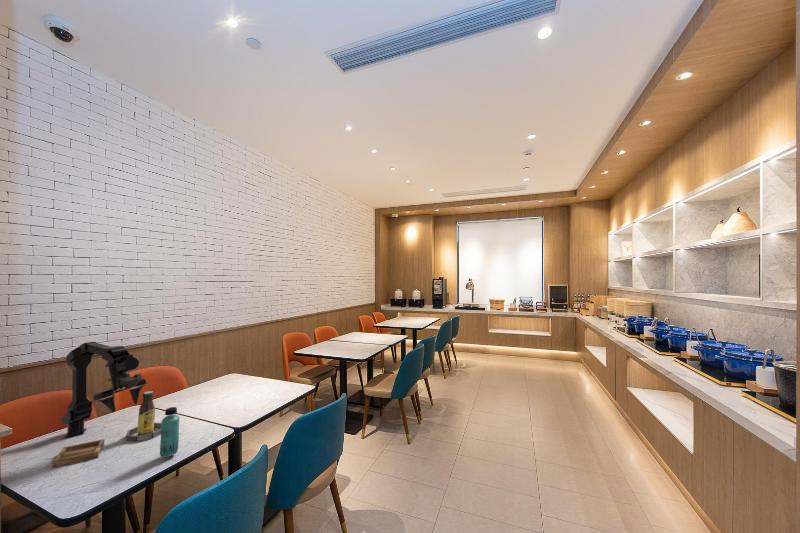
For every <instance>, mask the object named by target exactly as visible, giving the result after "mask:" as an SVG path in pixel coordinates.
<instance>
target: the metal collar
mask: <svg viewBox="0 0 800 533" xmlns="http://www.w3.org/2000/svg"><path fill="white" fill-rule="evenodd" d="M161 426H162V422H156V421H154V428H158V429H155V430H153V432H152V433H148V434H143V435H139V436H137V435H136V434H138V433H137V428H138V425H137V426H135V427H132V428H131V429H128V430H127V432H126V434H125V442H128V443H129V442H130V443H140V442H144V441H148V440H152V439H154V438H157V437H159V436H161V435H160V434H161ZM151 438H152V439H151Z"/></svg>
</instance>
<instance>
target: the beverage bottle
mask: <svg viewBox="0 0 800 533" xmlns="http://www.w3.org/2000/svg"><path fill="white" fill-rule="evenodd" d="M177 413H178V407H176V406H171V407H170V406H169V407H168V408H166V409H165V412H164V415H165V417H163V418H162V419H161V423H162V426H161V435H160V441H159V442H160V443H159V455H160V457H163V458H166V457H170V456H174V455H176V454H177V453H178V451H179V444H180V443H179V442H180V418H181V417H180V416H179V415H177Z"/></svg>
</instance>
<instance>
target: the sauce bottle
mask: <svg viewBox="0 0 800 533" xmlns="http://www.w3.org/2000/svg"><path fill="white" fill-rule="evenodd" d="M155 414H156V406H155V404H154V391H152V390H149V391H144V392H142V403H141V405H140V406H139V409H138V418H137V426H138V428H137V433H136V434H137V435H136V436H139V435H143V434H148V433H152V432H154V431H155V429H154V423H155V417H156V415H155Z"/></svg>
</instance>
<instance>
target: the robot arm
mask: <svg viewBox="0 0 800 533" xmlns="http://www.w3.org/2000/svg"><path fill="white" fill-rule="evenodd" d="M95 355H98V356H101V359H103V361H106V362H107V363H106V364H105V368H107V369H108V374H109V377H110V378H108V379H107V380H108V382H111V387H110V388H109V389H107V390H104V391H100V392H97V393H95V394H94V395H93V401H94V402H95V401H97V402H100V403H102V404H103V405H104V406H106V407H107V409H109V410H110V411H111V412H112V413H115V412H116V406H115V402H114V399H115V394H117V393H120V392H123V391H125V390H126V391H127V390H129V393H130V395H131V398H132V402H133V403H134V405H136V404H137V403H138V401H139V396H140V392H141V390H142V389H143V388H144V387H145V385H147V384H148V382H147V379H145V378H143V377H142V374H141V373H136V374H134V375H133V376H131V374H130V373H127V372H129V371H133V370H136V369H137V368H138V367H139V365H140V361H139V359H137V357H135V356H134V354H131V353H130V352H129V351H128V350H127V349H126V348H125V346H123V345H116V346H115V345H114V346H111V345H106V344H103V343H98V342H96V341H88V342H84V343H81V344H80V345H79V346H78V347H75V348H74V349H73V350H70V352H68V353H67V355H66V358H65V359H66V363H67V366H68V367H69V368H70V369H71V372H72V381H71V383H72V385H71V387H72V388H71V390H72V392H71V394H72V395H71V397H72V399H71V402H70V403H69V404H68V406H67V408H66V413H65V414H64V415H63V416H62V418H61V424H62V425H63V424H64V425H67V430H66V431H67V432H66V434H64V439H65V438H70V437H75V436H76V437H77V436H80V435H81V436H82V435H84V434H85V432H86V431H87V428H86V427H85V422H86V421H85V420H86V419H89V418H91V416H92V412H93V401H92V400H89V399H88V397H87V396H88V394H87V390H88V388H87V386H88V385H87V384H88V383H87V381H88V379H87V374H88V372H87V370H88V367H89V365H90V364H91V363H92V358H93V356H95ZM113 394H114V395H113Z"/></svg>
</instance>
